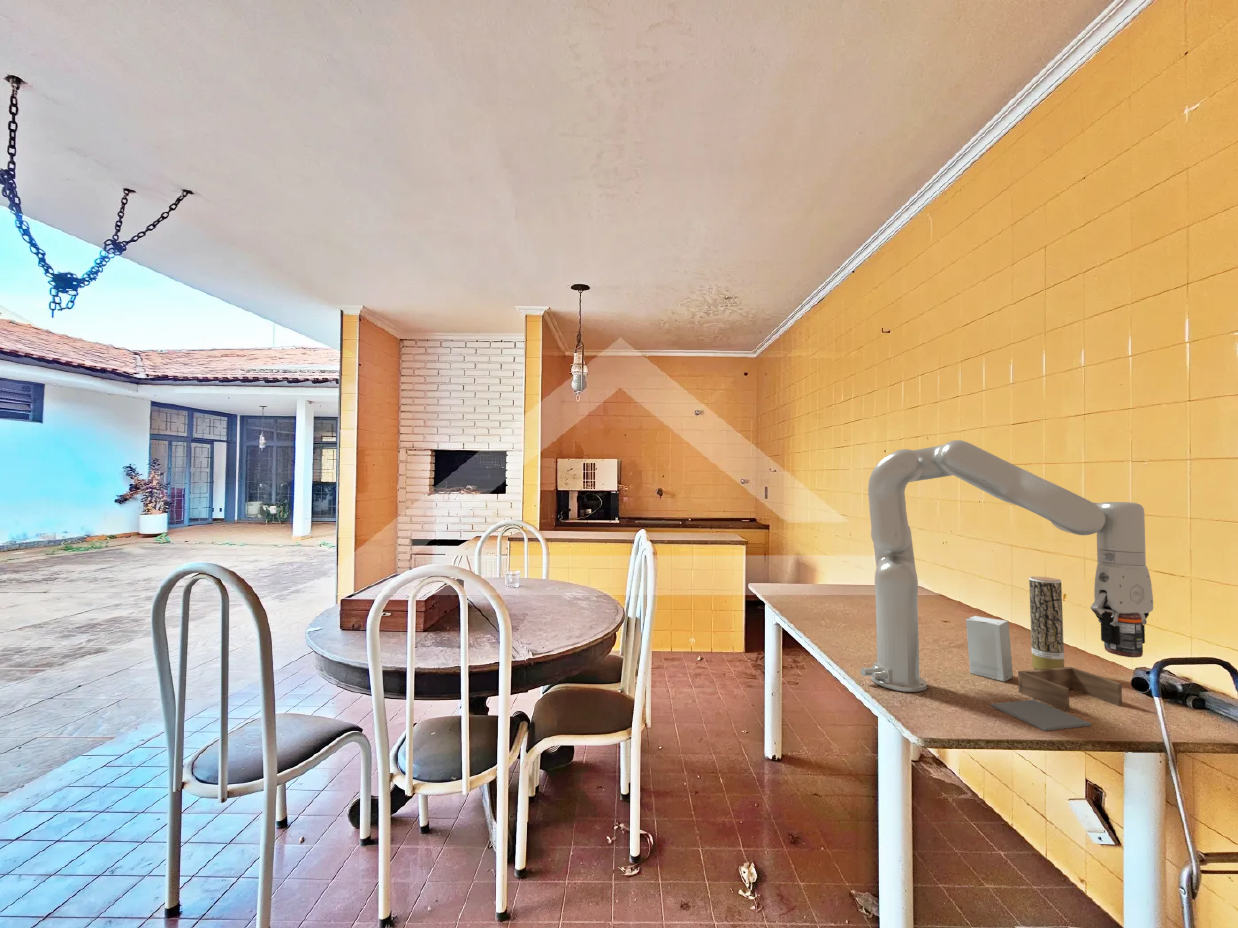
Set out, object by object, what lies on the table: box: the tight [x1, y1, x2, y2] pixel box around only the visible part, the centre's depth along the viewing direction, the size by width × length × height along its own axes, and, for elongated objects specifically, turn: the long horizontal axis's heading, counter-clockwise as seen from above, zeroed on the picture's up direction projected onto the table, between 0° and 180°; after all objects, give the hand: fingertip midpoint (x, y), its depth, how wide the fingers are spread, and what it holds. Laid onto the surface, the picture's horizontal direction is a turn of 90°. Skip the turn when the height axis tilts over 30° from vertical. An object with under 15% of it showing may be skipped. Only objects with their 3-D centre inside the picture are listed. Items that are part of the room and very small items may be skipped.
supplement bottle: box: [1103, 607, 1144, 658], centre depth 110 cm, size 6×6×11 cm
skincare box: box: [965, 615, 1014, 682], centre depth 135 cm, size 8×6×15 cm
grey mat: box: [990, 699, 1092, 732], centre depth 111 cm, size 12×12×1 cm
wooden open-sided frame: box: [1017, 666, 1123, 712], centre depth 120 cm, size 16×11×5 cm
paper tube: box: [1028, 576, 1065, 670], centre depth 139 cm, size 7×7×25 cm
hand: (1122, 641), depth 110 cm, fingers closed on supplement bottle, 6 cm apart
